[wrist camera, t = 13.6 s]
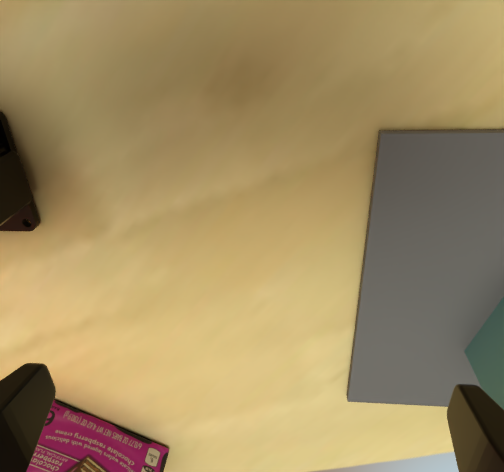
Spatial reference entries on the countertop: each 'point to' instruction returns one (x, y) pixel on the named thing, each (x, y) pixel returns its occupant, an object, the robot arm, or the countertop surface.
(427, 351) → the charcoal mat
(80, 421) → the candy bar box
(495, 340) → the teal block
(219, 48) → the countertop surface
